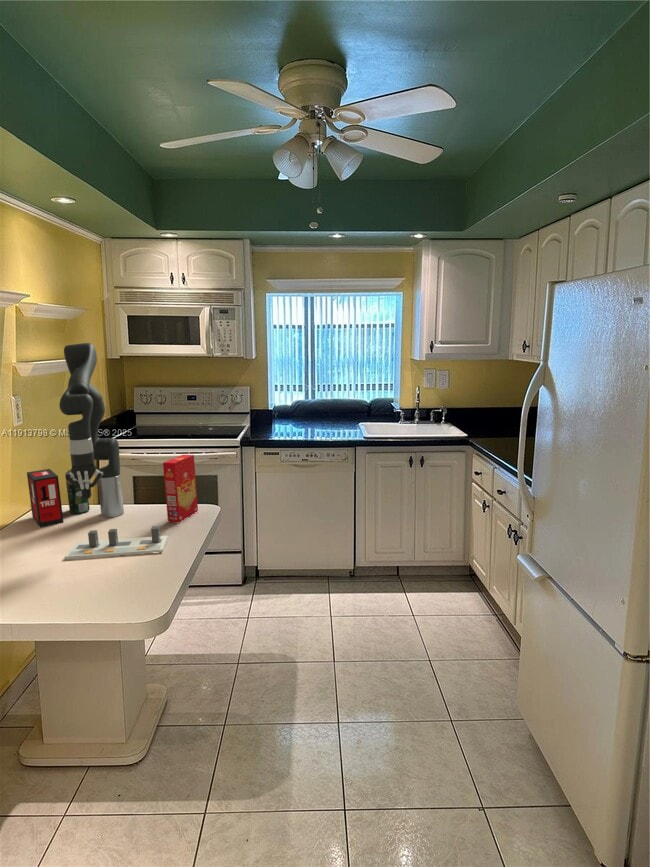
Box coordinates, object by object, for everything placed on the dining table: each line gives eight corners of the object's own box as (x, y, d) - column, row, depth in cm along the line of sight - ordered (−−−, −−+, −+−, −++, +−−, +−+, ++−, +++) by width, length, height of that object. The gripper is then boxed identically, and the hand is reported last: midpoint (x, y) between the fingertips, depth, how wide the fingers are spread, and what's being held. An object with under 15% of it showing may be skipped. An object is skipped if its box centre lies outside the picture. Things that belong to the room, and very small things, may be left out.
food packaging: (179, 523, 231) (174, 463, 226) (167, 522, 233) (162, 462, 228) (198, 511, 245) (193, 455, 240) (187, 510, 246) (183, 454, 242)
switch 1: (91, 543, 207) (90, 530, 206) (98, 543, 207) (97, 530, 206) (89, 546, 204) (87, 533, 203) (96, 546, 204) (94, 533, 203)
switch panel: (77, 545, 210) (76, 540, 210) (168, 538, 214) (168, 534, 214) (65, 560, 197) (64, 555, 196) (162, 552, 200) (162, 548, 200)
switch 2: (153, 539, 209) (152, 526, 208) (160, 538, 210) (159, 525, 209) (152, 542, 206) (151, 529, 205) (158, 541, 207) (157, 528, 206)
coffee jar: (67, 510, 253) (62, 469, 249) (86, 506, 257) (82, 466, 254) (72, 515, 245) (67, 473, 241) (91, 511, 249) (87, 470, 246)
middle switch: (111, 542, 208) (110, 529, 207) (118, 541, 208) (116, 528, 207) (109, 545, 205) (107, 532, 204) (116, 544, 205) (114, 531, 204)
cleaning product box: (63, 522, 236) (57, 476, 232) (40, 527, 231) (33, 480, 227) (55, 513, 249) (49, 468, 245) (32, 517, 244) (26, 472, 240)
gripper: (104, 448, 203) (109, 494, 206) (65, 449, 202) (71, 496, 205) (98, 452, 196) (103, 500, 199) (58, 454, 195) (64, 503, 198)
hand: (87, 498), depth 202 cm, fingers closed
